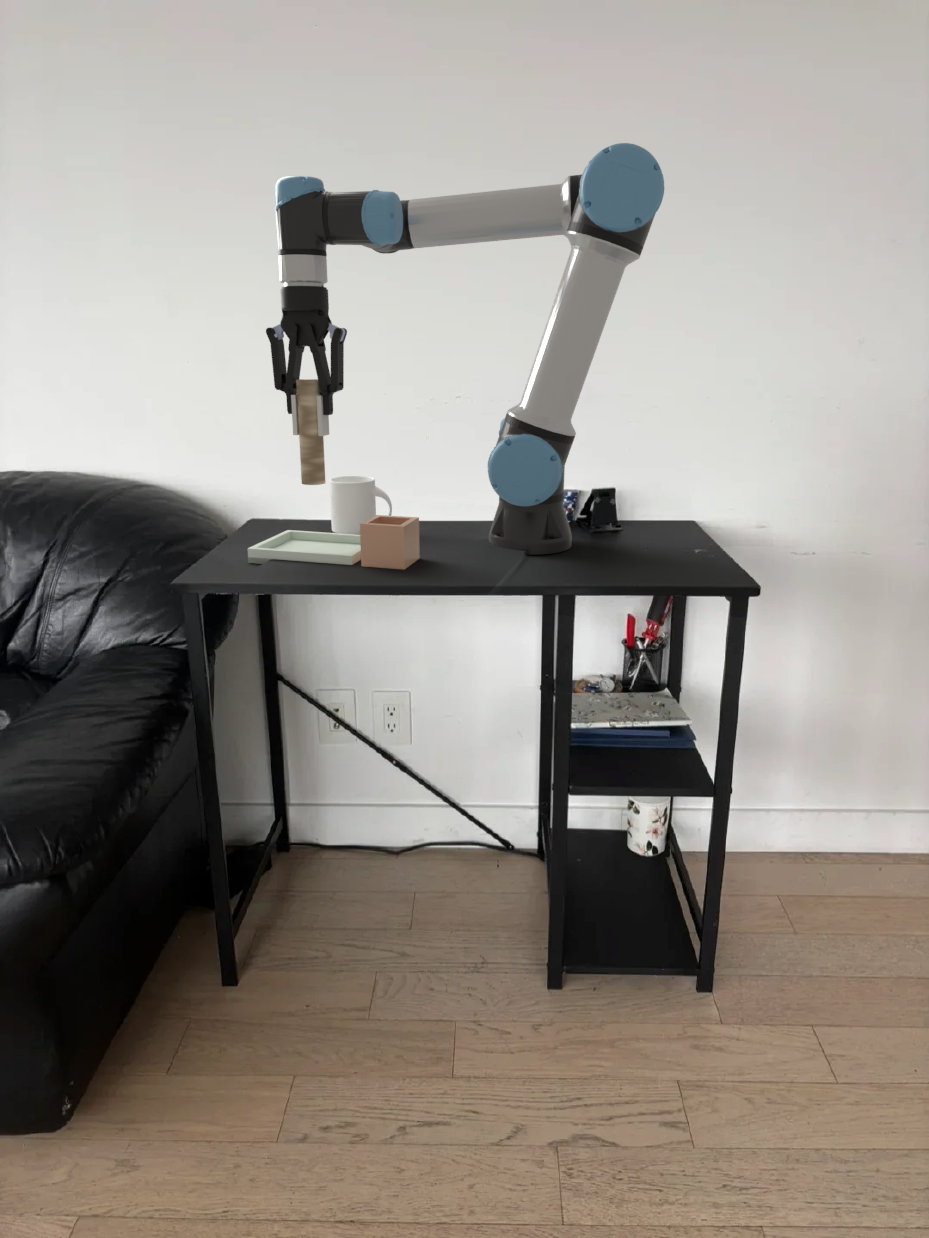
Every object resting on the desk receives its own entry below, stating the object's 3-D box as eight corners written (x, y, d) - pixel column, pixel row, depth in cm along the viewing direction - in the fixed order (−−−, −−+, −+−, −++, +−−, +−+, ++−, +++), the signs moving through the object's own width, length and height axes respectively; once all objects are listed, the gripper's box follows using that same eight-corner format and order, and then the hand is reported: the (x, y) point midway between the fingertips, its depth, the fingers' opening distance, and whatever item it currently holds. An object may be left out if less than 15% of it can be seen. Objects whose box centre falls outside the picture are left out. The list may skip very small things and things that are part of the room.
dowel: (329, 481, 151) (324, 379, 145) (319, 485, 147) (314, 380, 142) (307, 480, 152) (302, 379, 146) (297, 484, 148) (291, 380, 143)
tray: (384, 549, 158) (384, 536, 157) (352, 570, 144) (351, 556, 143) (288, 543, 163) (287, 530, 162) (248, 562, 149) (247, 548, 148)
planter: (419, 563, 148) (418, 517, 146) (404, 575, 141) (403, 526, 139) (378, 560, 150) (376, 514, 148) (361, 571, 143) (359, 523, 141)
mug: (385, 541, 164) (384, 484, 161) (325, 538, 167) (322, 482, 164) (398, 531, 172) (397, 477, 169) (341, 528, 175) (338, 475, 171)
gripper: (362, 286, 141) (366, 434, 148) (267, 287, 145) (276, 430, 152) (343, 284, 134) (349, 439, 141) (244, 285, 138) (254, 435, 146)
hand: (311, 434), depth 147 cm, fingers closed on dowel, 4 cm apart
